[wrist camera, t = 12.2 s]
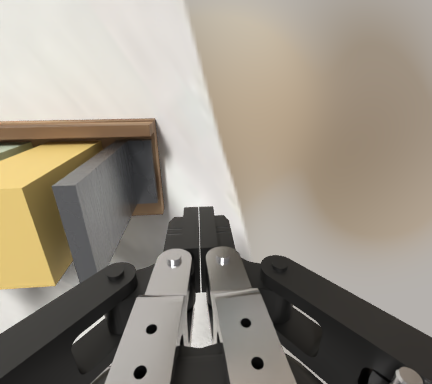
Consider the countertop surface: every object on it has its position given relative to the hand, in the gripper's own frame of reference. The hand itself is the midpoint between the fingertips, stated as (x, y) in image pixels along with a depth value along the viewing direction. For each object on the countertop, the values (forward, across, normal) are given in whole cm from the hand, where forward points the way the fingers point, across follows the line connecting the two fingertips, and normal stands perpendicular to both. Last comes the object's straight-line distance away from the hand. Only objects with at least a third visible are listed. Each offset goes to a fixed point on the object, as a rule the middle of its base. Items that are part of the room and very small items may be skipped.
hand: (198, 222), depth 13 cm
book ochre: (+9, +10, 0) cm, 13 cm away
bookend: (+9, +6, 0) cm, 11 cm away
